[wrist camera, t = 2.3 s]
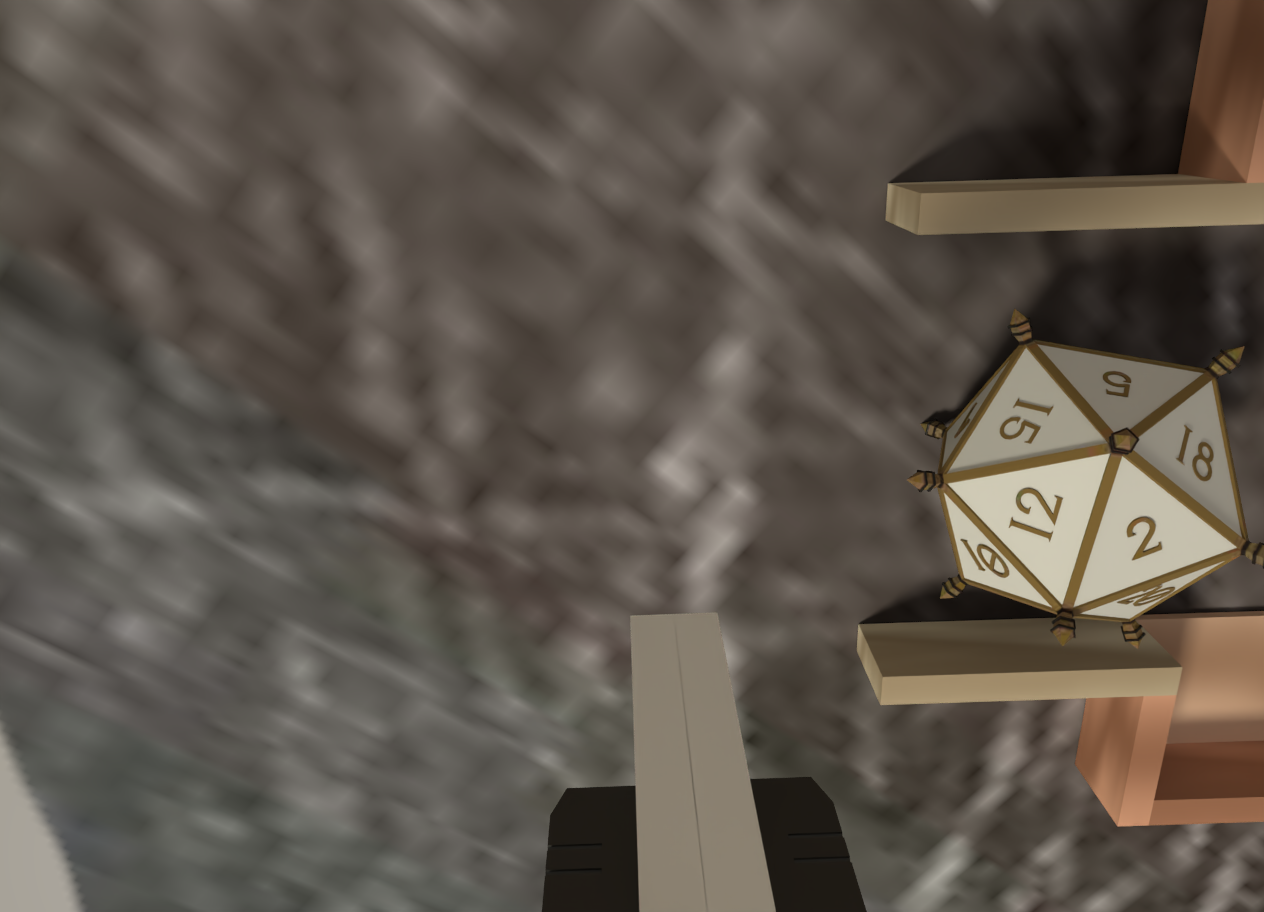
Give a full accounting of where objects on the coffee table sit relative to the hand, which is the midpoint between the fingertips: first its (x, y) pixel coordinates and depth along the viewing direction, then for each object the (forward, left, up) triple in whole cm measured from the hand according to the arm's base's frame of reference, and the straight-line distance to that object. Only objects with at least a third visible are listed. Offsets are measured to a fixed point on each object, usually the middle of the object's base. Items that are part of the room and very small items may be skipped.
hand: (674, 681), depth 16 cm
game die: (0, -11, -13) cm, 17 cm away
